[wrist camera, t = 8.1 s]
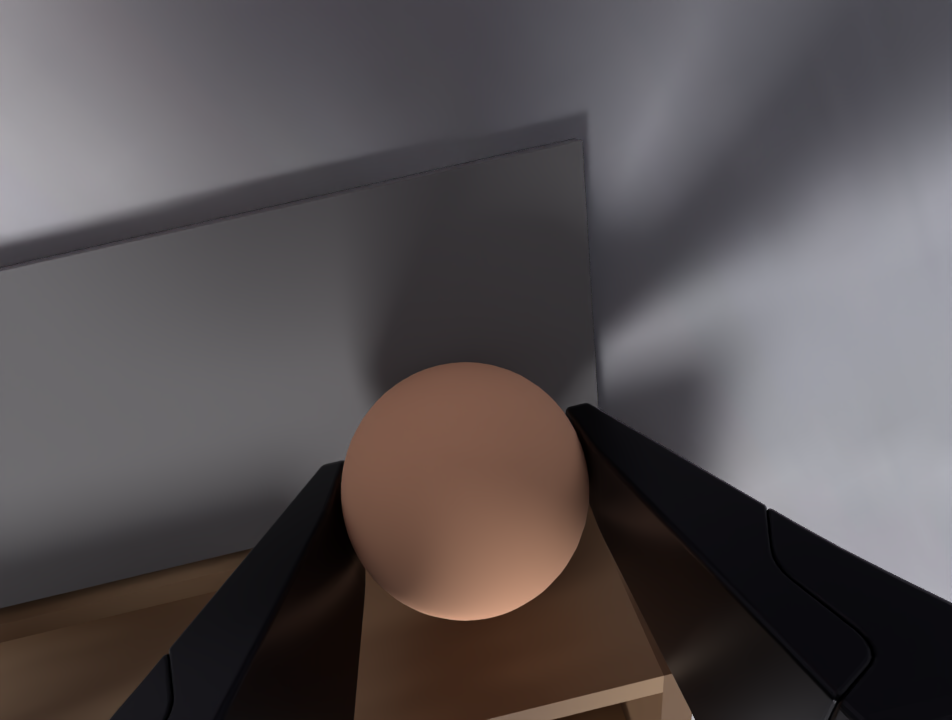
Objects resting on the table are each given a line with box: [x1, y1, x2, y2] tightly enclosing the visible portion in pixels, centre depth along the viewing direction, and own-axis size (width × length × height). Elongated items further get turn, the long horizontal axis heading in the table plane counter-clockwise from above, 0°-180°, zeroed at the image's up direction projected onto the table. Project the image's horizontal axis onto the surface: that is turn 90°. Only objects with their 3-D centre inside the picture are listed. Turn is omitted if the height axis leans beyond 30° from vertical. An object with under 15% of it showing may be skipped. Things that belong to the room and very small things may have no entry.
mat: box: [0, 139, 598, 608], centre depth 9 cm, size 15×7×1 cm, turn 101°
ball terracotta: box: [341, 362, 589, 621], centre depth 7 cm, size 4×4×4 cm
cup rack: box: [0, 504, 692, 720], centre depth 11 cm, size 19×8×4 cm, turn 101°
